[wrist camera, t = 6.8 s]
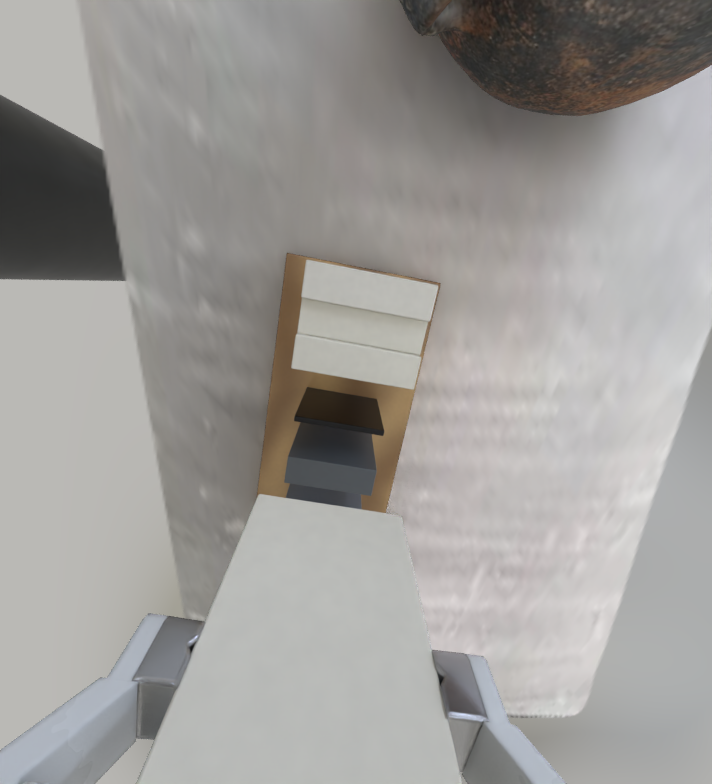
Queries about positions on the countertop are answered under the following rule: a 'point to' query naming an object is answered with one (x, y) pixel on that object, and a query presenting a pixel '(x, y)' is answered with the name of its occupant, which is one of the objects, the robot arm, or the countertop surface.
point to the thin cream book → (310, 662)
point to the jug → (571, 48)
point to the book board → (294, 382)
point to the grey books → (330, 466)
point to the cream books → (362, 324)
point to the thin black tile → (340, 411)
